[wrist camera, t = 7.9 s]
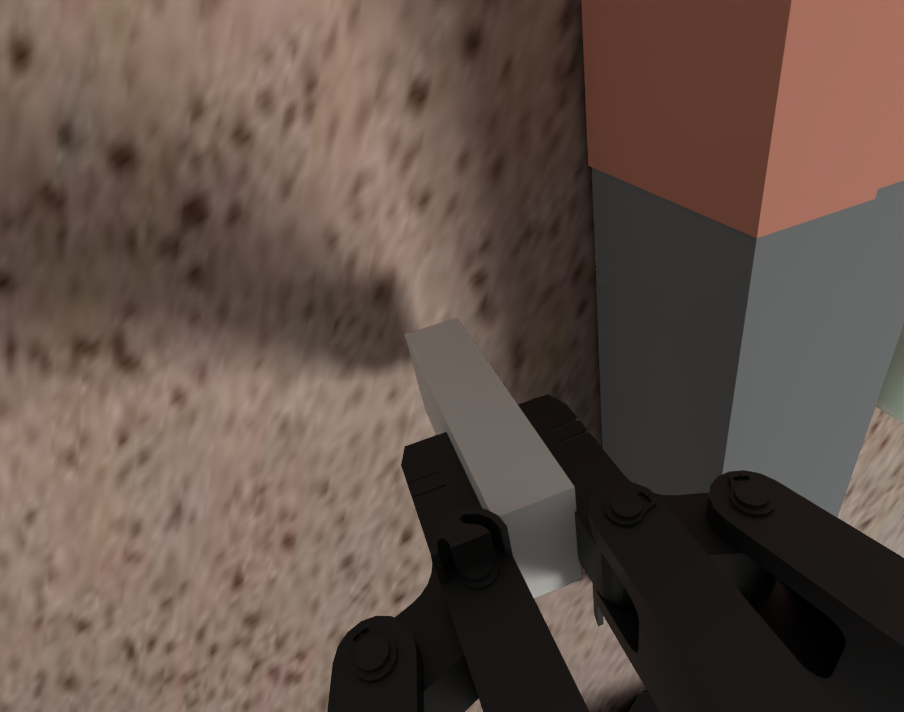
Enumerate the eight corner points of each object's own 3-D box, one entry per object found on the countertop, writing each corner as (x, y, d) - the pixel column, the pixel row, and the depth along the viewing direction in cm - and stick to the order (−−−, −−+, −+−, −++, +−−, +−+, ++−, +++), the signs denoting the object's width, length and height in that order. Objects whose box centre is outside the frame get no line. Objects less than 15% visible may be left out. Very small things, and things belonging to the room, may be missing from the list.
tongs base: (696, 539, 27) (804, 665, 22) (604, 577, 26) (693, 718, 21) (762, -54, 13) (1101, -105, 8) (574, -7, 13) (808, -29, 7)
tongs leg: (656, 477, 23) (766, 603, 18) (602, 499, 23) (699, 633, 18) (679, -32, 13) (946, -67, 8) (580, -9, 12) (796, -30, 7)
